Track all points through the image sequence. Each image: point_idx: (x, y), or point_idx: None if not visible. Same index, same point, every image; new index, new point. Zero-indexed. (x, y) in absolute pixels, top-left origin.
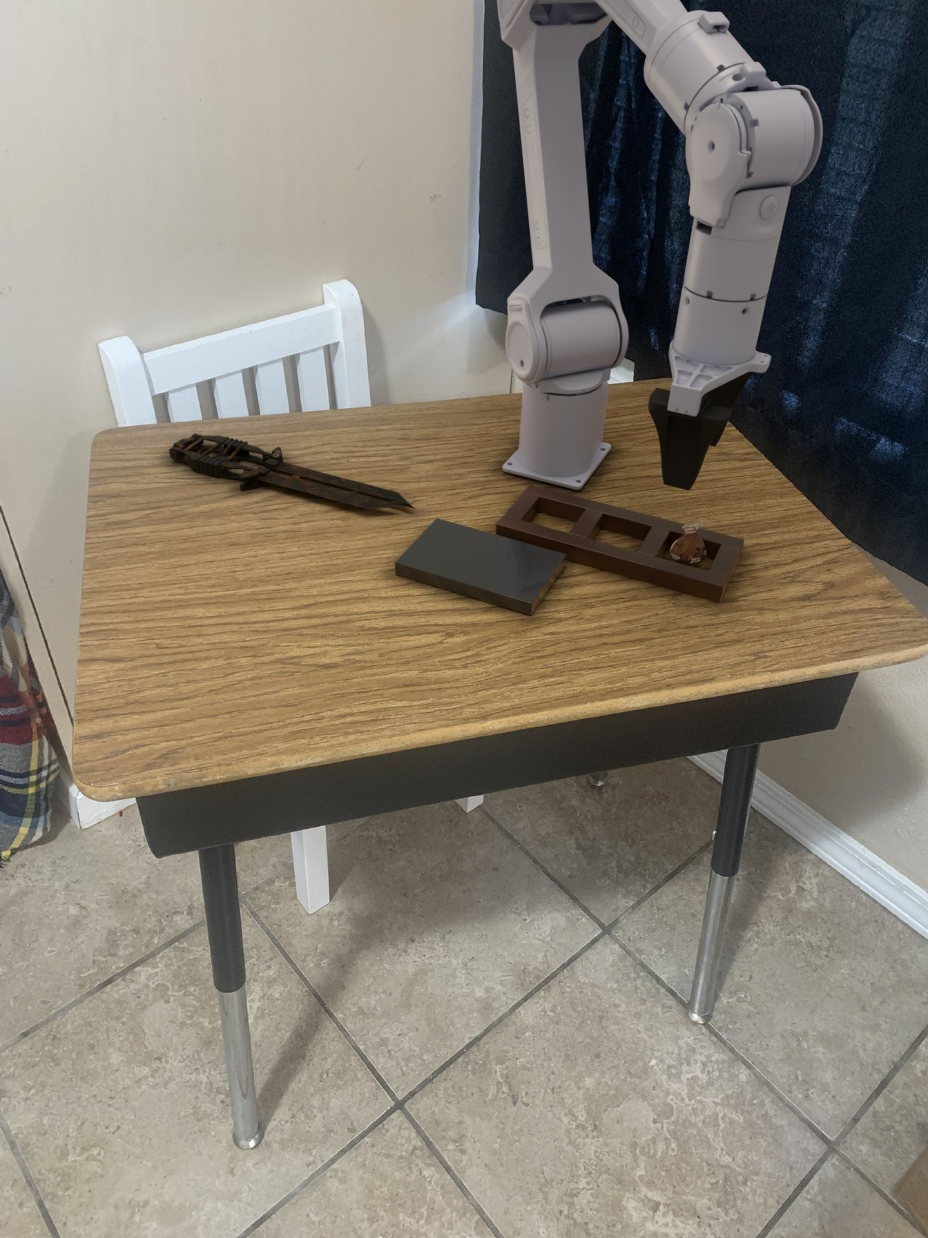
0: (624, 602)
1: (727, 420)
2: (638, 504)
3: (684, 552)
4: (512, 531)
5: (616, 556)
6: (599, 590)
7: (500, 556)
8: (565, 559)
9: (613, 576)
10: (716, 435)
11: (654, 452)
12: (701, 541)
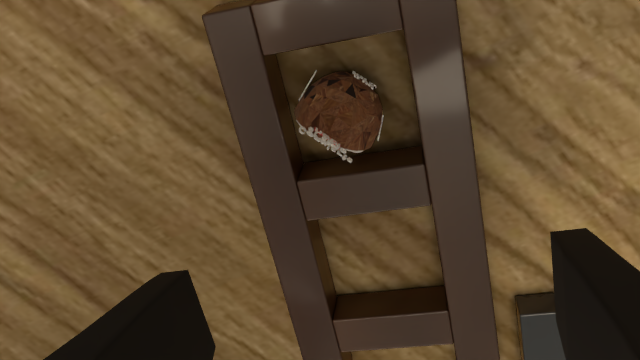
0: (576, 144)
1: (122, 327)
2: (199, 273)
3: (376, 114)
4: None
5: (481, 233)
6: (561, 206)
7: None
8: (523, 307)
9: (491, 205)
10: (171, 302)
11: (4, 323)
12: (325, 98)
